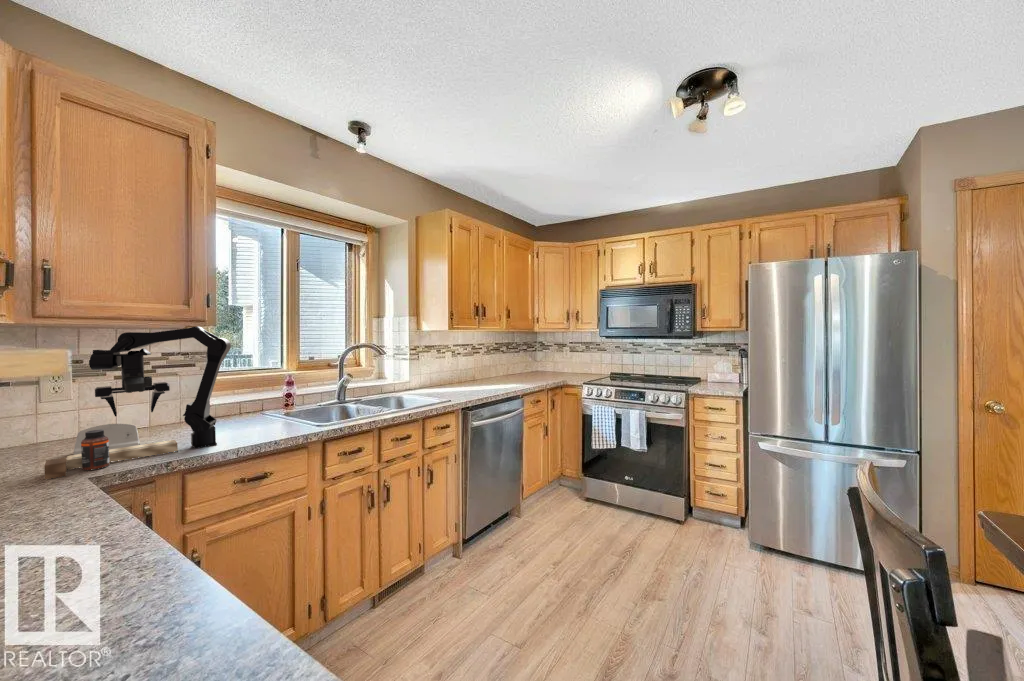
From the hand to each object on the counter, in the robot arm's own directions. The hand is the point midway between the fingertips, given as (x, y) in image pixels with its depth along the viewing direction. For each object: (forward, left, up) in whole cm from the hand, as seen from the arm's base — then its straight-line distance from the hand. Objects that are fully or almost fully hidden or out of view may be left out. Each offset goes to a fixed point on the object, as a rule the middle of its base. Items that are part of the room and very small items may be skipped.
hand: (134, 414), depth 143 cm
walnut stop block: (+18, +15, -13) cm, 26 cm away
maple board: (+3, +8, -13) cm, 15 cm away
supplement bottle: (+10, +14, -13) cm, 22 cm away
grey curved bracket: (+7, -11, -13) cm, 18 cm away
